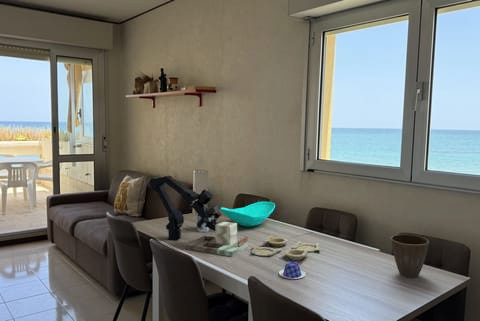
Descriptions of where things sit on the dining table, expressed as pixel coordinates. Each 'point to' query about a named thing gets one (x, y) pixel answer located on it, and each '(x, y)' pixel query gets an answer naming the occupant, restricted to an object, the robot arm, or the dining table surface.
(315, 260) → the dining table surface
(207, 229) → the light bulb box
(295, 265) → the purple patterned hat
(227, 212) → the table top decor
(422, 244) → the plant pot
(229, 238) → the ash block
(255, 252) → the tableware set
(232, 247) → the board
